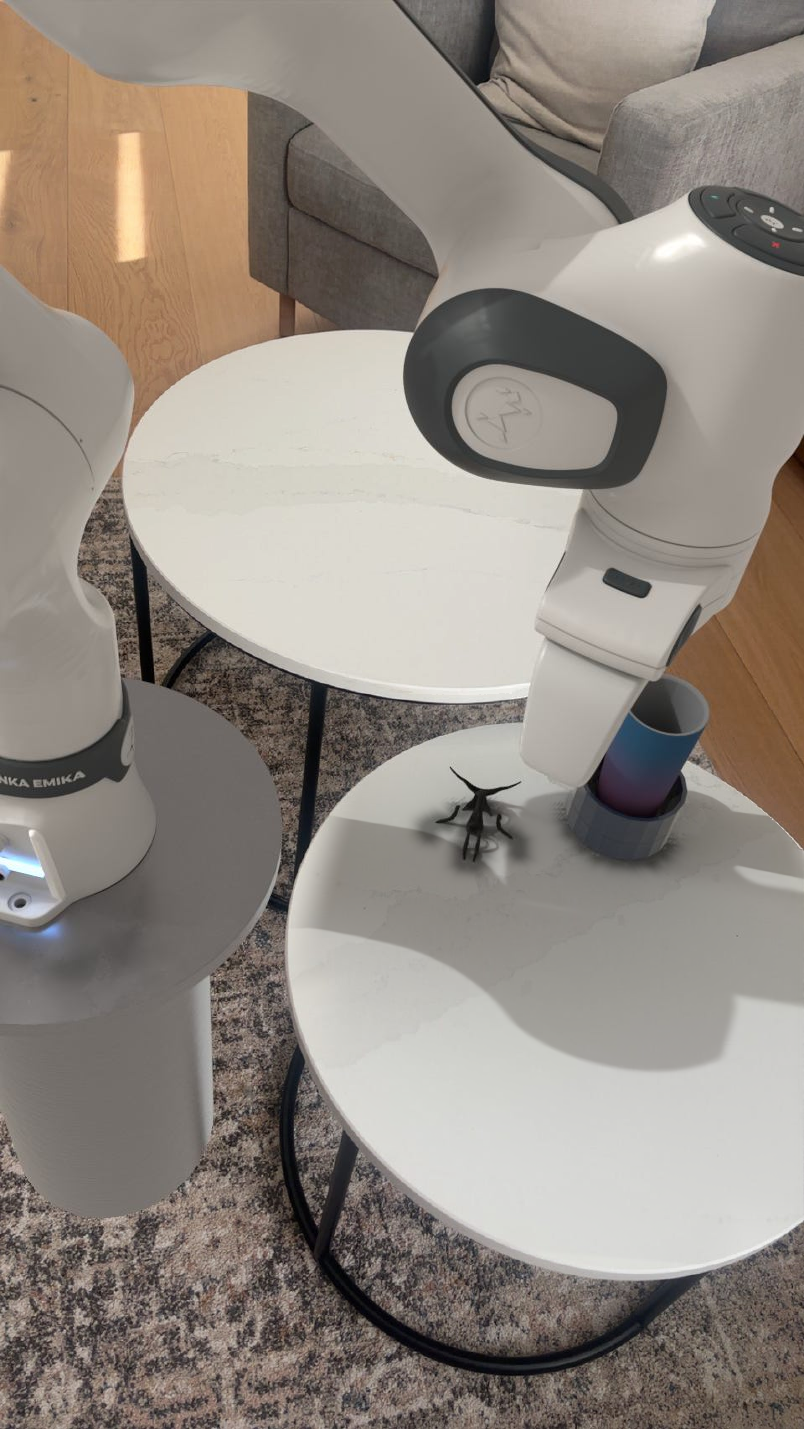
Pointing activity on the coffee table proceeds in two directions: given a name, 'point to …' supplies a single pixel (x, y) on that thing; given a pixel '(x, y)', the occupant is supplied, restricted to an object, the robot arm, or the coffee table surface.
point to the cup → (652, 747)
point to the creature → (477, 813)
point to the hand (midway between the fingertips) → (594, 727)
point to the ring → (622, 822)
